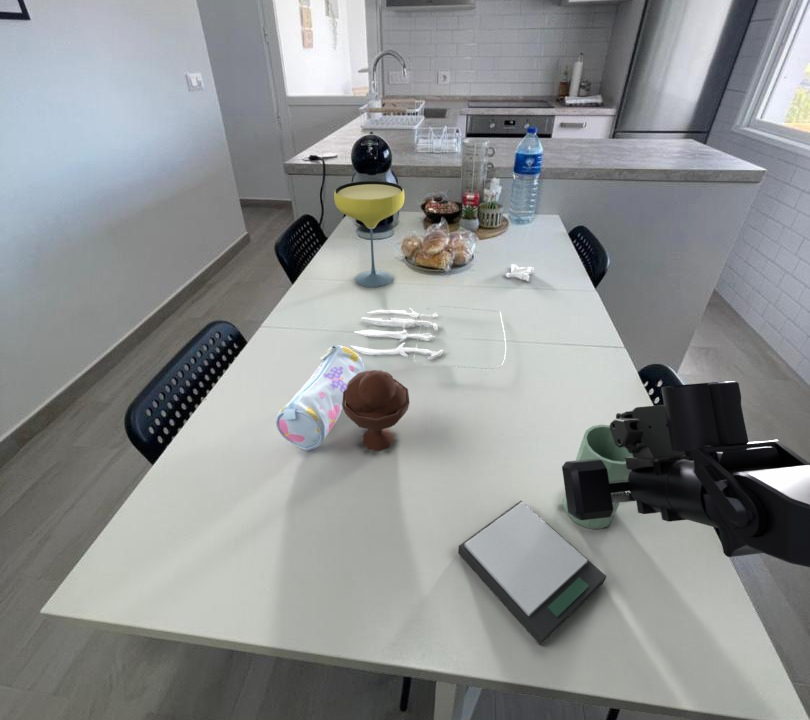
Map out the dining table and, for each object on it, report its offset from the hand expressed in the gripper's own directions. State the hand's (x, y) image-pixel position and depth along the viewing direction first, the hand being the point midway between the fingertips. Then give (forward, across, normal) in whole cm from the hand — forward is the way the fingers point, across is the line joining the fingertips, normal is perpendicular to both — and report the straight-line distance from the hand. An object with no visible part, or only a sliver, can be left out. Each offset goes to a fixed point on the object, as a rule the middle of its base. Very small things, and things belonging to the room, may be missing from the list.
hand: (609, 475), depth 59 cm
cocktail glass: (+66, +27, -52) cm, 88 cm away
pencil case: (+26, +38, -12) cm, 48 cm away
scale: (+2, +12, +11) cm, 16 cm away
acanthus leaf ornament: (+64, -16, -50) cm, 83 cm away
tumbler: (+8, 0, +5) cm, 9 cm away
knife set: (+43, +16, -30) cm, 55 cm away
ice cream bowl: (+20, +30, -7) cm, 37 cm away
